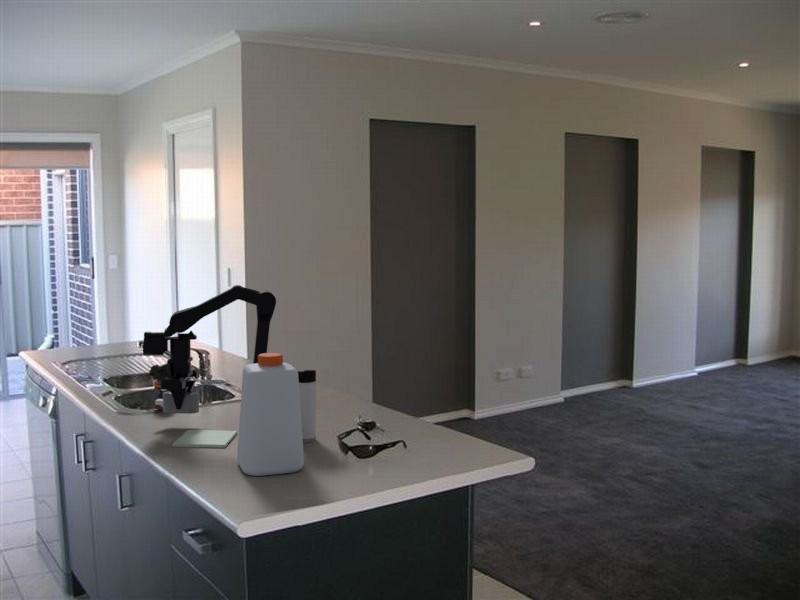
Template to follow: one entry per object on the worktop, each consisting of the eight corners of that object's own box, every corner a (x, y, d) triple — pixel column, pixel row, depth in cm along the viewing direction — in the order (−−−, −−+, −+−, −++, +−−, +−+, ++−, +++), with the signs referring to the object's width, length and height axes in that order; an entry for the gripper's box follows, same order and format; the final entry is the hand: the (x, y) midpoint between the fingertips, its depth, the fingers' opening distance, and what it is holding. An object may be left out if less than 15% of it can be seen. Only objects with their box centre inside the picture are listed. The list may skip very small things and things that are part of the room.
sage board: (237, 433, 222) (237, 430, 222) (224, 447, 208) (224, 444, 208) (188, 432, 222) (188, 429, 222) (172, 446, 208) (172, 443, 208)
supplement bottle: (168, 411, 247) (167, 375, 246) (150, 409, 248) (150, 374, 247) (177, 406, 253) (176, 372, 251) (160, 405, 254) (159, 371, 253)
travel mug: (298, 444, 212) (298, 371, 210) (289, 438, 218) (290, 367, 216) (319, 441, 215) (320, 370, 213) (310, 435, 221) (311, 366, 219)
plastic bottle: (307, 472, 188) (308, 358, 185) (244, 479, 183) (244, 361, 180) (293, 455, 202) (293, 348, 200) (234, 460, 197) (234, 351, 194)
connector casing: (200, 410, 231) (200, 391, 230) (196, 413, 226) (196, 395, 226) (159, 409, 231) (158, 391, 230) (154, 412, 227) (153, 394, 226)
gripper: (163, 349, 236) (164, 399, 238) (141, 359, 218) (142, 414, 219) (199, 349, 236) (200, 400, 238) (181, 360, 218) (181, 415, 219)
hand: (181, 407), depth 229 cm, fingers closed on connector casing, 4 cm apart
